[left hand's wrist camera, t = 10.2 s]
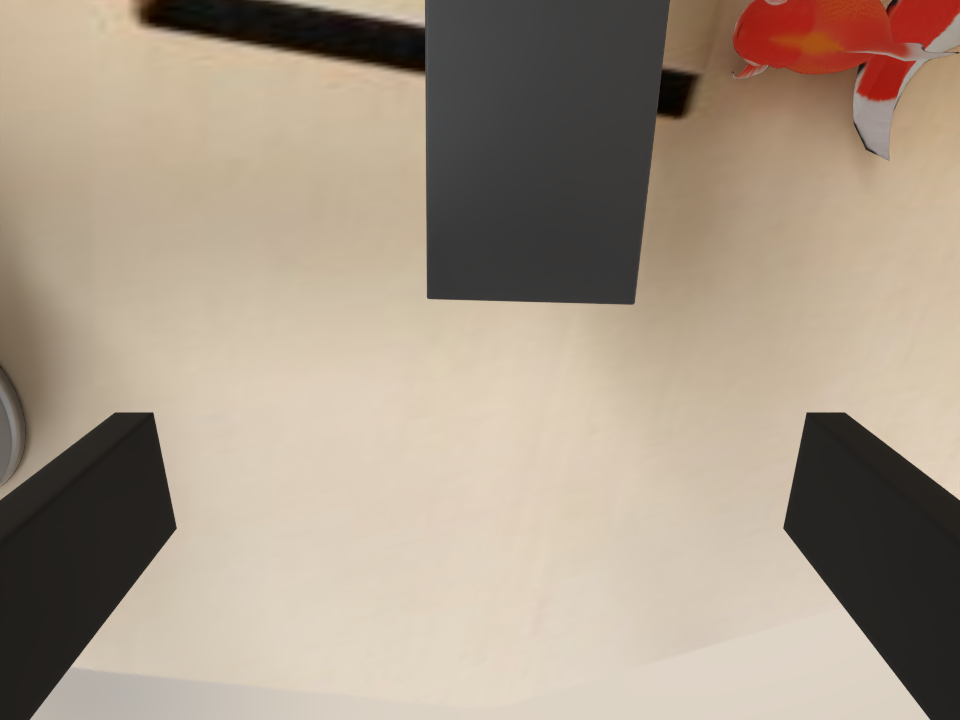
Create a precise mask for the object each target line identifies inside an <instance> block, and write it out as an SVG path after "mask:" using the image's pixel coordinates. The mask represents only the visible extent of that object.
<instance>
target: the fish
mask: <svg viewBox="0 0 960 720" xmlns="http://www.w3.org/2000/svg"><path fill="white" fill-rule="evenodd" d="M733 43H734V48H735V50H736V51H737V53H738V54H739V55H740V56H741V57H742V58H743V59H744V60H745V61H746V62H747V63H748V64H747V65H746V66H745V68H744V69H743V70H742V72H741V73H740V74H739V75H737V76H735V74H734V73H733V72H732V75H733V78H734V79H742V78H749V77H751V76H754V75H757V74H759V73H761V72H763V71H765V70H766V69H767V68H768V67H769V66H771V67H773V68H777V69H778V68H783V67H785V68H788V69H790V70H793V71H795V72H798V73H801V74H828V73H835V72H840V71H844V70H848V69H851V68H854V67H856V66H858V65H859V69H858V73H857V78H856V83H855V89H854V97H853V118H854V125H855V127H856V130H857V132H858V134H859V136H860V138H861V140H862V142H863V144H864V146H865V148H866V150H868V151H870V152H872V153H874V154H876V155H878V156H880V157H883V158H885V159H887V160H889V161H890V159H889V139H890V129H891V122H892V116H893V112H894V109H895V107H896V105H897V103H898V101H899V98H900V96H901V94H902V92H903V89H904V88H905V86H906V85H907V83H908V82H909V80H910V79H911V78H912V76H913V75H914V74H915V72H916V71H917V70H918V69H919V68H920V67H921V66H922V65H923V64H924V63H925V62H927V61H929V60H931V59H933V58H938V57H943V56H948V55H953V54H957V53H960V52H947V53H944V52H946V51H948V50H950V49H952V48H954V47H957V46H960V0H892V1H891V3H890V4H889V5H888V7H887V9H886V10H885V8H884V6H883V4H882V3H881V1H880V0H752V1H751V2H750V3H749V4H748V5H747V6H746V8H745V9H744V10H743V11H742V12H741V14H740V16H739V18H738V20H737V22H736V24H735V27H734V32H733Z"/></svg>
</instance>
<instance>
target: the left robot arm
mask: <svg viewBox="0 0 960 720" xmlns="http://www.w3.org/2000/svg"><path fill="white" fill-rule="evenodd" d="M25 433H26V430H25V420H24V416H23V411H22V408H21V405H20V402H19V399H18V397H17V394H16V392H15V390H14V388H13V386H12V384H11V383H10V381H9V379H8V378H7V376H6V375H5V373H4V372H3V370H2V369H1V368H0V486H1V485H3V484H4V483H5V482H6V481H7V480H8V479H9V478H10V477H11V476H12V474H13V473H14V472H15V470H16V468H17V467H18V465H19V463H20V460H21V458H22V455H23V451H24V446H25ZM176 529H177V527H176V523H175V518H174V513H173V508H172V503H171V498H170V493H169V488H168V483H167V478H166V473H165V468H164V463H163V458H162V453H161V448H160V443H159V438H158V434H157V429H156V424H155V419H154V414H153V413H114V414H113V415H111V416H110V417H109V418H107V419H106V420H105V421H103V422H102V423H101V424H100V425H98V426H97V427H96V428H94V429H93V430H92V431H90V432H89V433H88V434H86V435H85V436H84V437H83V438H81V439H80V440H79V441H77V442H76V443H75V444H73V445H72V446H71V447H69V448H68V449H67V450H66V451H64V452H63V453H62V454H60V455H59V456H58V457H56V458H55V459H54V460H52V461H51V462H50V463H49V464H47V465H46V466H45V467H43V468H42V469H41V470H39V471H38V472H37V473H35V474H34V475H33V476H32V477H30V478H29V479H28V480H26V481H25V482H24V483H22V484H21V485H20V486H18V487H17V488H16V489H15V490H13V491H12V492H11V493H9V494H8V495H7V496H5V497H4V498H3V499H1V500H0V720H30V719H31V717H32V716H33V715H34V713H35V712H36V711H37V710H38V708H39V707H40V706H41V704H42V703H43V702H44V700H45V699H46V698H47V697H48V695H49V694H50V693H51V691H52V690H53V689H54V687H55V686H56V685H57V684H58V682H59V681H60V680H61V678H62V677H63V676H64V674H65V673H66V672H67V670H68V669H69V668H70V667H71V665H72V664H73V663H74V661H75V660H76V659H77V657H78V656H79V655H80V654H81V652H82V651H83V650H84V648H85V647H86V646H87V644H88V643H89V642H90V641H91V639H92V638H93V637H94V635H95V634H96V633H97V631H98V630H99V629H100V628H101V626H102V625H103V624H104V622H105V621H106V620H107V618H108V617H109V616H110V615H111V613H112V612H113V611H114V609H115V608H116V607H117V605H118V604H119V603H120V601H121V600H122V599H123V598H124V596H125V595H126V594H127V592H128V591H129V590H130V588H131V587H132V586H133V585H134V583H135V582H136V581H137V579H138V578H139V577H140V575H141V574H142V573H143V572H144V570H145V569H146V568H147V566H148V565H149V564H150V562H151V561H152V560H153V559H154V557H155V556H156V555H157V553H158V552H159V551H160V549H161V548H162V547H163V546H164V544H165V543H166V542H167V540H168V539H169V538H170V536H171V535H172V534H173V533H174V531H175V530H176ZM783 529H784V530H785V531H786V533H787V534H788V535H789V536H790V538H791V539H792V540H793V542H794V543H795V544H796V546H797V547H798V548H799V549H800V551H801V552H802V553H803V555H804V556H805V557H806V559H807V560H808V561H809V562H810V564H811V565H812V566H813V568H814V569H815V570H816V572H817V573H818V574H819V575H820V577H821V578H822V579H823V581H824V582H825V583H826V585H827V586H828V587H829V588H830V590H831V591H832V592H833V594H834V595H835V596H836V598H837V599H838V600H839V601H840V603H841V604H842V605H843V607H844V608H845V609H846V611H847V612H848V613H849V614H850V616H851V617H852V618H853V620H854V621H855V622H856V624H857V625H858V626H859V627H860V629H861V630H862V631H863V633H864V634H865V635H866V637H867V638H868V639H869V640H870V642H871V643H872V644H873V646H874V647H875V648H876V650H877V651H878V652H879V654H880V655H881V656H882V657H883V659H884V660H885V661H886V663H887V664H888V665H889V667H890V668H891V669H892V670H893V672H894V673H895V674H896V676H897V677H898V678H899V680H900V681H901V682H902V683H903V685H904V686H905V687H906V689H907V690H908V691H909V693H910V694H911V695H912V697H913V698H914V699H915V700H916V702H917V703H918V704H919V706H920V707H921V708H922V710H923V711H924V712H925V713H926V715H927V716H928V717H929V719H930V720H960V500H959V499H957V498H956V497H955V496H953V495H952V494H951V493H949V492H948V491H947V490H945V489H944V488H943V487H942V486H940V485H939V484H938V483H936V482H935V481H934V480H932V479H931V478H930V477H928V476H927V475H926V474H925V473H923V472H922V471H921V470H919V469H918V468H917V467H915V466H914V465H913V464H911V463H910V462H909V461H908V460H906V459H905V458H904V457H902V456H901V455H900V454H898V453H897V452H896V451H894V450H893V449H892V448H891V447H889V446H888V445H887V444H885V443H884V442H883V441H881V440H880V439H879V438H877V437H876V436H875V435H874V434H872V433H871V432H870V431H868V430H867V429H866V428H864V427H863V426H862V425H860V424H859V423H858V422H857V421H855V420H854V419H853V418H851V417H850V416H849V415H847V414H846V413H807V414H806V419H805V424H804V429H803V433H802V438H801V443H800V448H799V453H798V458H797V463H796V468H795V473H794V478H793V483H792V488H791V493H790V498H789V503H788V508H787V513H786V518H785V522H784V527H783Z"/></svg>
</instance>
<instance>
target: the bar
mask: <svg viewBox="0 0 960 720" xmlns="http://www.w3.org/2000/svg"><path fill="white" fill-rule="evenodd" d="M669 2H670V0H425V52H426V214H427V298H428V299H444V300H481V301H518V302H554V303H591V304H627V305H633V304H634V303H635V296H636V287H637V278H638V270H639V261H640V253H641V244H642V235H643V227H644V218H645V209H646V201H647V192H648V184H649V175H650V166H651V158H652V149H653V140H654V132H655V123H656V115H657V106H658V97H659V89H660V80H661V71H662V63H663V54H664V46H665V37H666V28H667V20H668V11H669Z"/></svg>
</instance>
